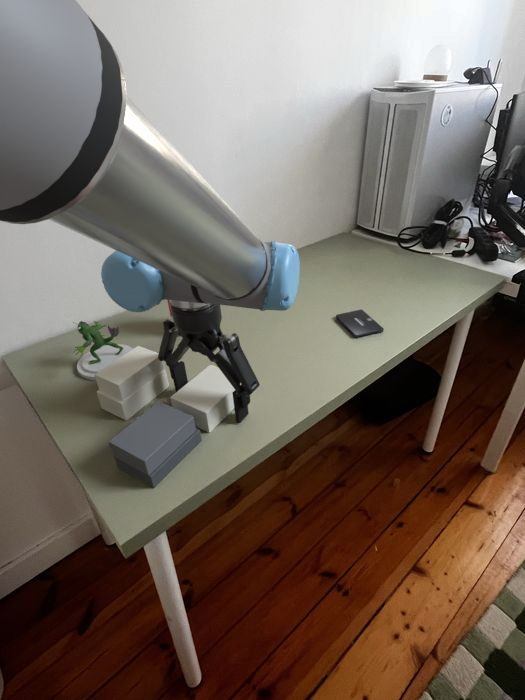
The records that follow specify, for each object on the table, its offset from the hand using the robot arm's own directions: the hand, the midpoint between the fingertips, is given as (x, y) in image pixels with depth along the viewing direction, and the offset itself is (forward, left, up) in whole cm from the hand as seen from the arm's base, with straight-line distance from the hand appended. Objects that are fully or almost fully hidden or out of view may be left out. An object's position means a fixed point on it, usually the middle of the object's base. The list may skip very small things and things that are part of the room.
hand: (211, 405), depth 78 cm
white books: (-5, +14, 0) cm, 15 cm away
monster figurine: (0, +28, 0) cm, 28 cm away
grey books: (-13, 0, 0) cm, 13 cm away
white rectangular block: (0, 0, 0) cm, 0 cm away
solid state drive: (+39, -12, 0) cm, 41 cm away
